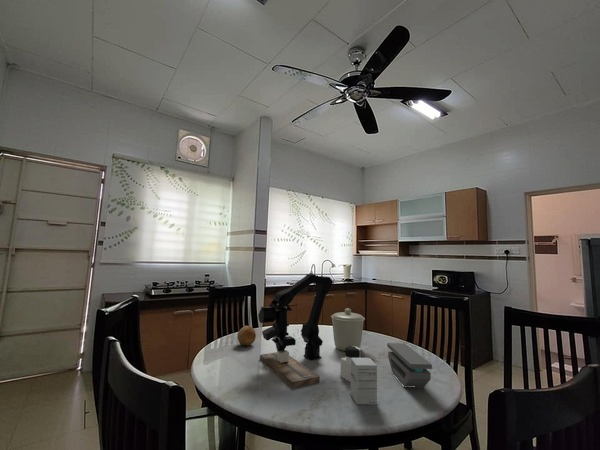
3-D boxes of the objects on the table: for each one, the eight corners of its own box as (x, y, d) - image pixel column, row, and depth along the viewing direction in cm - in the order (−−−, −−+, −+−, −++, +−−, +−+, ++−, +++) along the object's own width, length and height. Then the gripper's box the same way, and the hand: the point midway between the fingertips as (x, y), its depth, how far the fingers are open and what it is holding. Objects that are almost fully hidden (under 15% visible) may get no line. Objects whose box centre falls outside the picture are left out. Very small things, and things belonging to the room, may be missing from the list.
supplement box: (349, 394, 100) (350, 357, 102) (370, 394, 101) (370, 357, 102) (355, 405, 93) (356, 365, 94) (377, 404, 93) (377, 365, 95)
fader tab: (285, 359, 126) (286, 349, 127) (288, 361, 124) (289, 351, 124) (277, 360, 124) (277, 350, 125) (280, 362, 122) (280, 352, 122)
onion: (233, 347, 147) (234, 327, 148) (242, 341, 157) (243, 323, 158) (250, 349, 144) (251, 329, 146) (258, 343, 154) (259, 325, 155)
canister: (369, 347, 153) (369, 308, 156) (357, 357, 138) (357, 313, 140) (338, 341, 163) (339, 304, 165) (324, 349, 148) (325, 308, 150)
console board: (282, 355, 137) (283, 350, 137) (319, 381, 109) (319, 375, 110) (259, 359, 131) (260, 354, 131) (292, 387, 104) (292, 381, 104)
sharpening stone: (387, 368, 125) (387, 342, 126) (404, 368, 125) (404, 343, 127) (410, 396, 100) (410, 364, 102) (432, 396, 101) (431, 364, 102)
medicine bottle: (350, 383, 109) (351, 351, 110) (340, 376, 115) (340, 345, 117) (365, 380, 112) (365, 348, 114) (354, 373, 119) (354, 343, 120)
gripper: (257, 318, 133) (255, 352, 131) (273, 327, 117) (271, 366, 115) (278, 316, 138) (277, 349, 137) (296, 325, 122) (295, 362, 120)
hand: (279, 356), depth 127 cm, fingers closed
